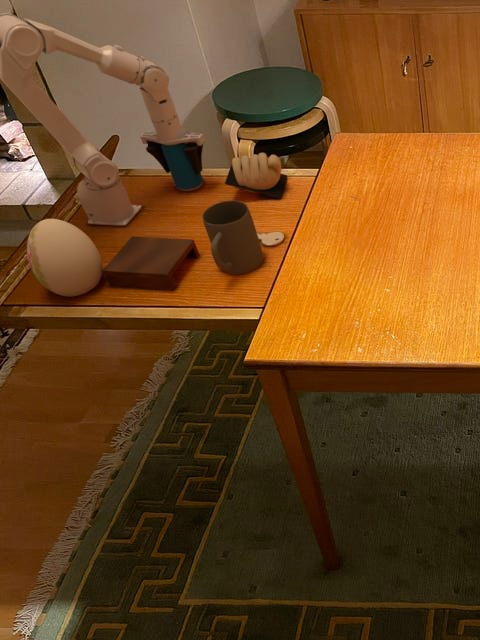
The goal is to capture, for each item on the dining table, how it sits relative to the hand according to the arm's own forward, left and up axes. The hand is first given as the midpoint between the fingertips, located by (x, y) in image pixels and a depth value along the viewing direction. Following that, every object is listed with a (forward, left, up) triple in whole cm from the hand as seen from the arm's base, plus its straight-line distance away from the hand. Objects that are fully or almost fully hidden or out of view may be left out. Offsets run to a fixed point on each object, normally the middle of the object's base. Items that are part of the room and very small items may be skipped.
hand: (184, 171), depth 170 cm
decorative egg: (-6, -39, -4) cm, 40 cm away
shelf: (+8, -33, -4) cm, 34 cm away
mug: (+25, -31, -4) cm, 40 cm away
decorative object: (+18, +5, +1) cm, 19 cm away
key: (+27, -17, -4) cm, 32 cm away
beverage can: (0, 0, -4) cm, 4 cm away
